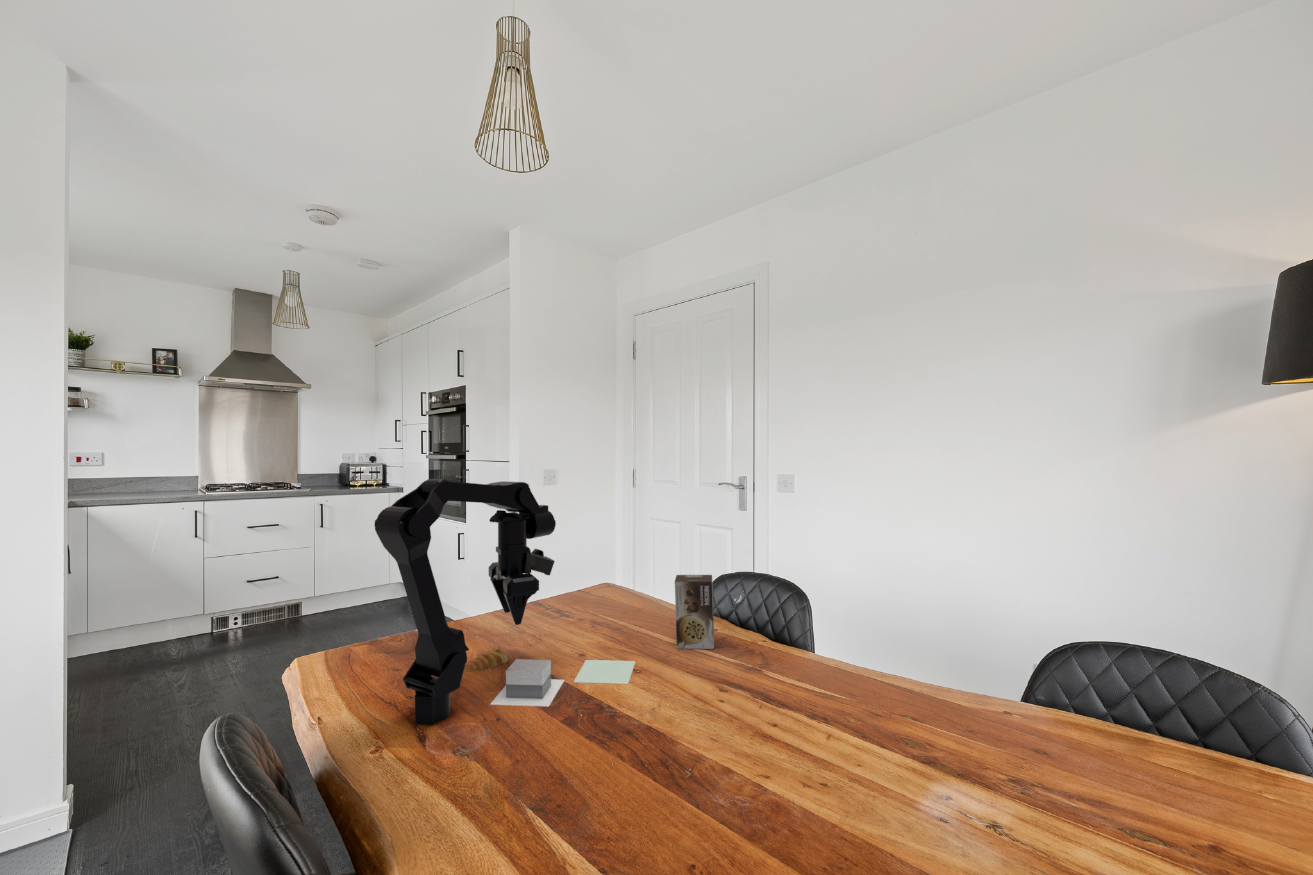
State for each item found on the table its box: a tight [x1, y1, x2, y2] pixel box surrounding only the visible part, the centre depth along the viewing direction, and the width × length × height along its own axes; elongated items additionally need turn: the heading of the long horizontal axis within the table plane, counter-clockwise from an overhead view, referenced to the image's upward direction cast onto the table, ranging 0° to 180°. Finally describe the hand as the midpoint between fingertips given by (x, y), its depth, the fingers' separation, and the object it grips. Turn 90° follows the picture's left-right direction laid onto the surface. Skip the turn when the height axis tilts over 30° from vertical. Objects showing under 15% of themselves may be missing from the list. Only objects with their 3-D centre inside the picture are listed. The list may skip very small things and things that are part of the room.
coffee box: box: [674, 574, 715, 650], centre depth 131 cm, size 9×6×16 cm
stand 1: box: [489, 678, 565, 708], centre depth 104 cm, size 11×11×2 cm
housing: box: [505, 658, 552, 699], centre depth 105 cm, size 6×7×5 cm
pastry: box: [464, 648, 508, 673], centre depth 118 cm, size 9×7×4 cm
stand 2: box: [573, 659, 636, 685], centre depth 113 cm, size 11×11×2 cm
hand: (512, 618), depth 112 cm, fingers open, 9 cm apart
